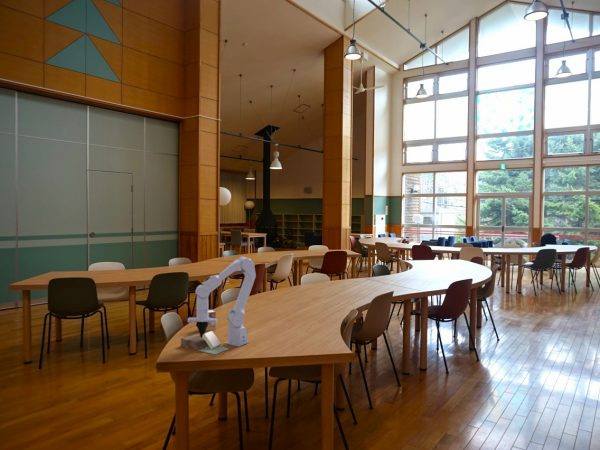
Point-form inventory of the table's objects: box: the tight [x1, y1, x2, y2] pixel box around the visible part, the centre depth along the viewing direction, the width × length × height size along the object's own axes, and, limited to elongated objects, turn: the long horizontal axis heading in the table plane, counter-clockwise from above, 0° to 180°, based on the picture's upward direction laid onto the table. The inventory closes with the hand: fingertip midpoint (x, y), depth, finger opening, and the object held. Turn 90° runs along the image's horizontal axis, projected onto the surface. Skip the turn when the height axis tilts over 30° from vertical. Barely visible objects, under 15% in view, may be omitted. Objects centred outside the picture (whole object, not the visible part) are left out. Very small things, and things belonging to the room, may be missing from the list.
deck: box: [180, 333, 209, 351], centre depth 212 cm, size 12×10×4 cm
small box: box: [205, 309, 217, 332], centre depth 241 cm, size 8×6×10 cm
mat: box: [199, 345, 230, 355], centre depth 206 cm, size 10×10×1 cm
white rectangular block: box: [202, 330, 222, 349], centre depth 209 cm, size 8×6×2 cm
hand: (202, 337), depth 210 cm, fingers closed
